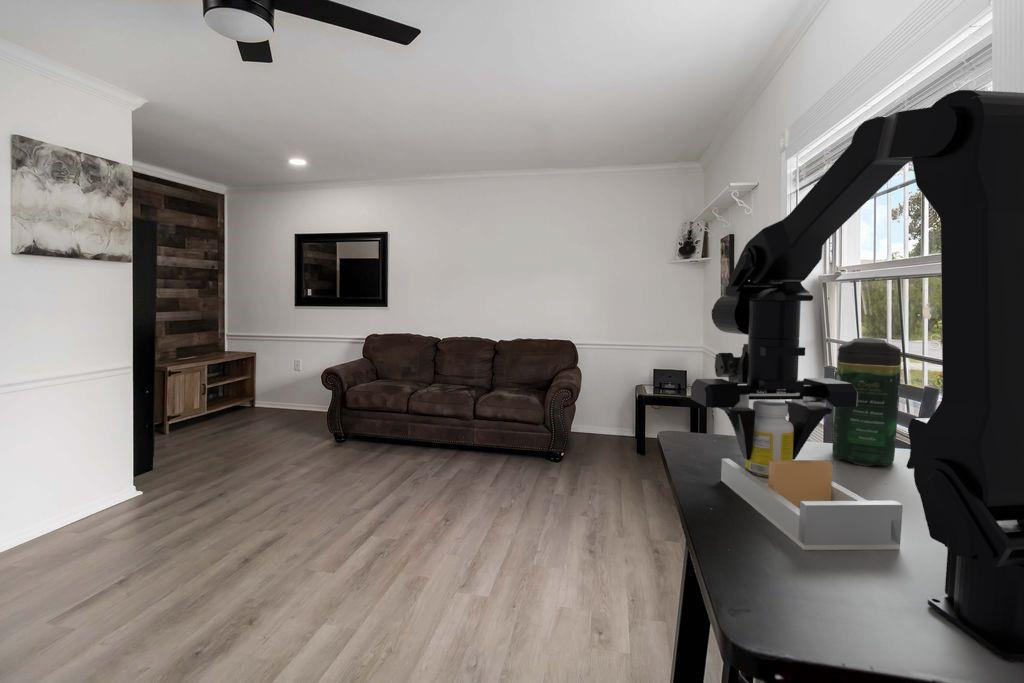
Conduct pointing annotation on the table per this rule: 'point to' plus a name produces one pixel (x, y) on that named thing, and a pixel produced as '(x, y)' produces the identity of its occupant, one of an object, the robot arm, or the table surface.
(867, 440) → the coffee jar
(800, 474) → the pusher
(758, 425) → the supplement bottle
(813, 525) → the lane
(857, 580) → the table surface
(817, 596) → the table surface
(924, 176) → the robot arm
